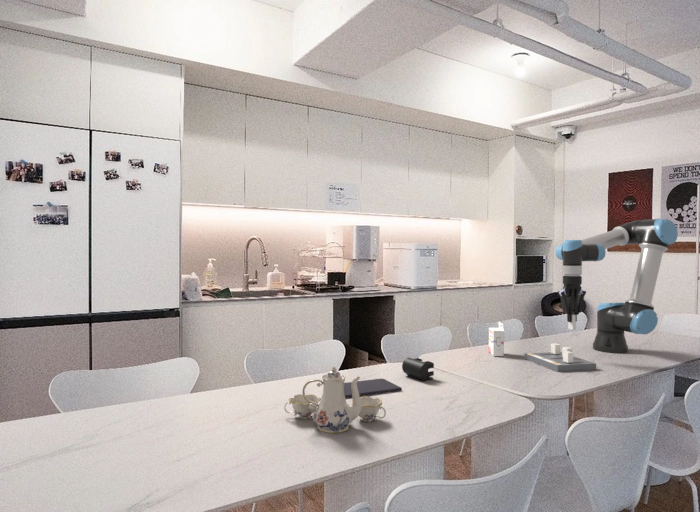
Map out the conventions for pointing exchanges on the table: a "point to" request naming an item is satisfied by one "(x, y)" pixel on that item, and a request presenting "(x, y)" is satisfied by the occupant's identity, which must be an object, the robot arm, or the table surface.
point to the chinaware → (335, 404)
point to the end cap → (418, 368)
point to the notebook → (371, 387)
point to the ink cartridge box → (496, 340)
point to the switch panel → (559, 362)
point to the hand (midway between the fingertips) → (571, 329)
